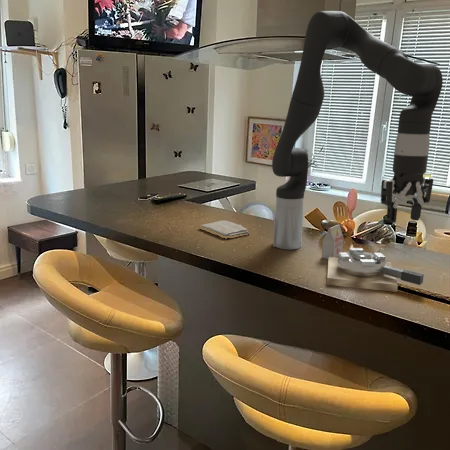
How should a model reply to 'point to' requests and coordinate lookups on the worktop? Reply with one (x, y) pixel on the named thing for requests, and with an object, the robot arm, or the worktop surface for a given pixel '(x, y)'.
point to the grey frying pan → (372, 266)
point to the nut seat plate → (359, 279)
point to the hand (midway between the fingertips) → (403, 220)
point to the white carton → (332, 242)
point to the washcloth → (226, 228)
